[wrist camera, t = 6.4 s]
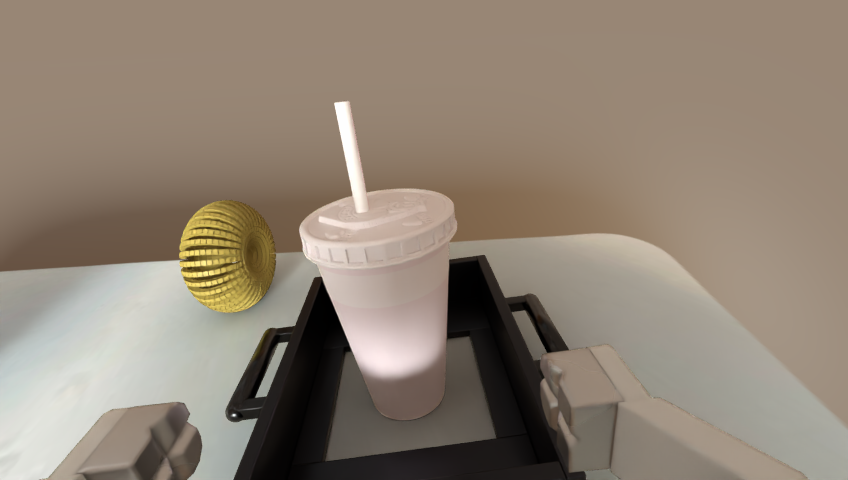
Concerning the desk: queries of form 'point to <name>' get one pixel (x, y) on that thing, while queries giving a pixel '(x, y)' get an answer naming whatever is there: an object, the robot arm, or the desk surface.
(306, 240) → the smoothie
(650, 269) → the desk surface
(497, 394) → the pan
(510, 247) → the desk surface
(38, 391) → the desk surface
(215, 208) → the sculpture
